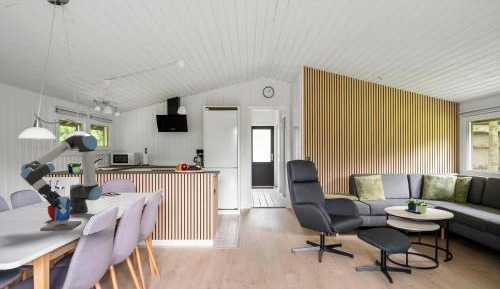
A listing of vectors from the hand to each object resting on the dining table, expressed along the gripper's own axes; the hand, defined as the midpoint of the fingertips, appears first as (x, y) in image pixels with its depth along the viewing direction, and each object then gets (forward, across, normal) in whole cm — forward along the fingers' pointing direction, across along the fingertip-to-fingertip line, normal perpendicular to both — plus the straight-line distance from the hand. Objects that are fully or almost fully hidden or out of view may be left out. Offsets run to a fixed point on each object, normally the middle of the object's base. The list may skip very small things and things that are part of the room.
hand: (67, 211), depth 199 cm
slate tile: (+5, 0, -10) cm, 11 cm away
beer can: (+3, 0, -7) cm, 8 cm away
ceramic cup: (-2, -22, -17) cm, 28 cm away
